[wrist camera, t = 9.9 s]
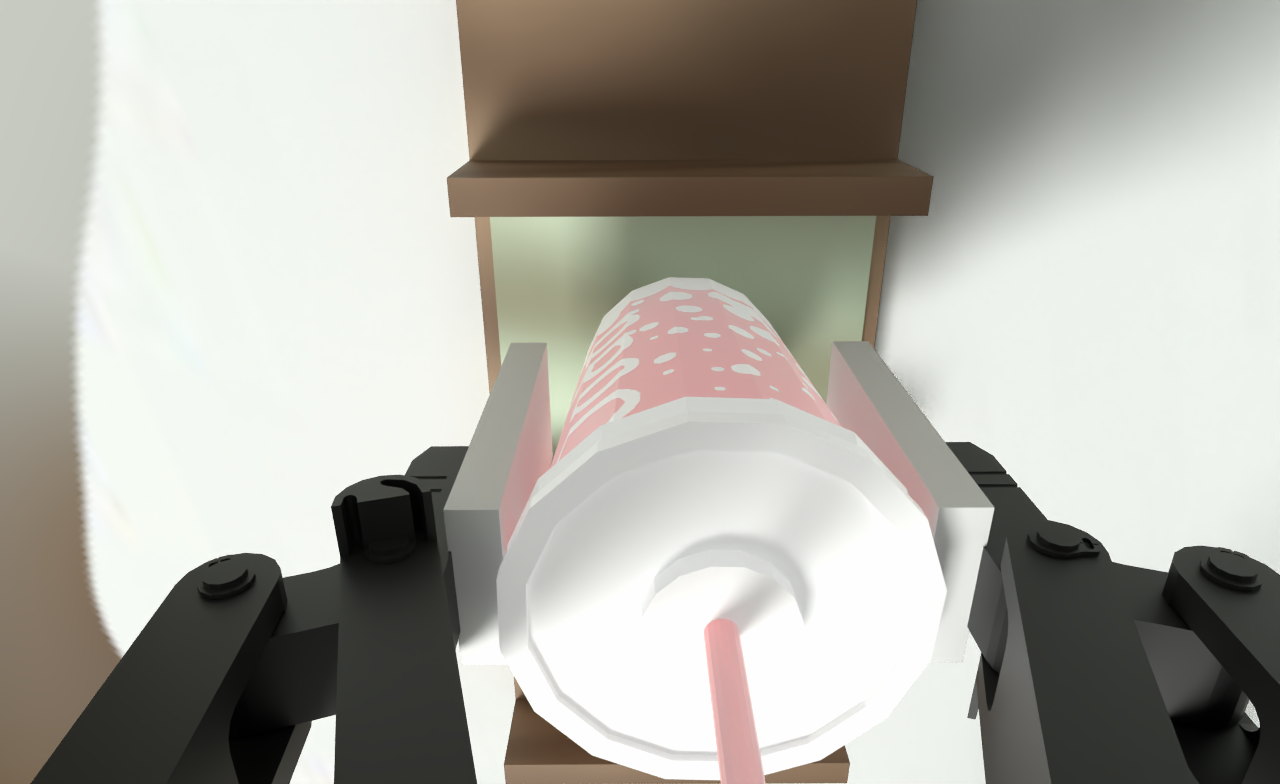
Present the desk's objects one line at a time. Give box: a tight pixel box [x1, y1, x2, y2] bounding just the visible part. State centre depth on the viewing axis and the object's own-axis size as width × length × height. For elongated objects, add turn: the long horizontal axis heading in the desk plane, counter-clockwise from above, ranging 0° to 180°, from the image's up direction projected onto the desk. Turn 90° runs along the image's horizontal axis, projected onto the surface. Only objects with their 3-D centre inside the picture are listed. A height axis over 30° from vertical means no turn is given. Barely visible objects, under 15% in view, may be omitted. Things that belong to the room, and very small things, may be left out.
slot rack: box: [447, 0, 933, 784], centre depth 20 cm, size 26×10×4 cm, turn 0°
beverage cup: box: [496, 277, 947, 784], centre depth 13 cm, size 6×6×14 cm
